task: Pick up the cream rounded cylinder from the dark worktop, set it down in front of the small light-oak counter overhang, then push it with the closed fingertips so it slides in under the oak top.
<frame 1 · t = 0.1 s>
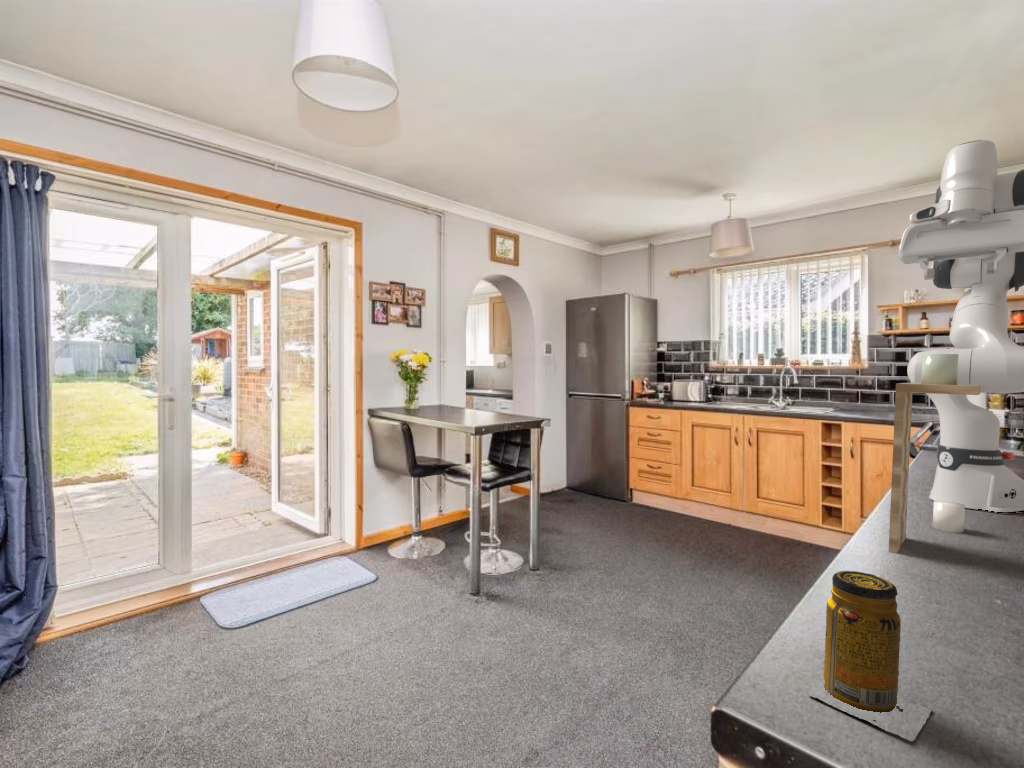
hand: (959, 275, 101), 52 cm above the counter, tool tilted 20°, fingers open, 8 cm apart
pale green cylinder: (938, 384, 92), point 30 cm above the counter, touching oak counter shelf
cream rounded cylinder: (947, 529, 107), on the counter
oak counter shelf: (930, 551, 93), on the counter
condiment: (868, 706, 50), on the counter
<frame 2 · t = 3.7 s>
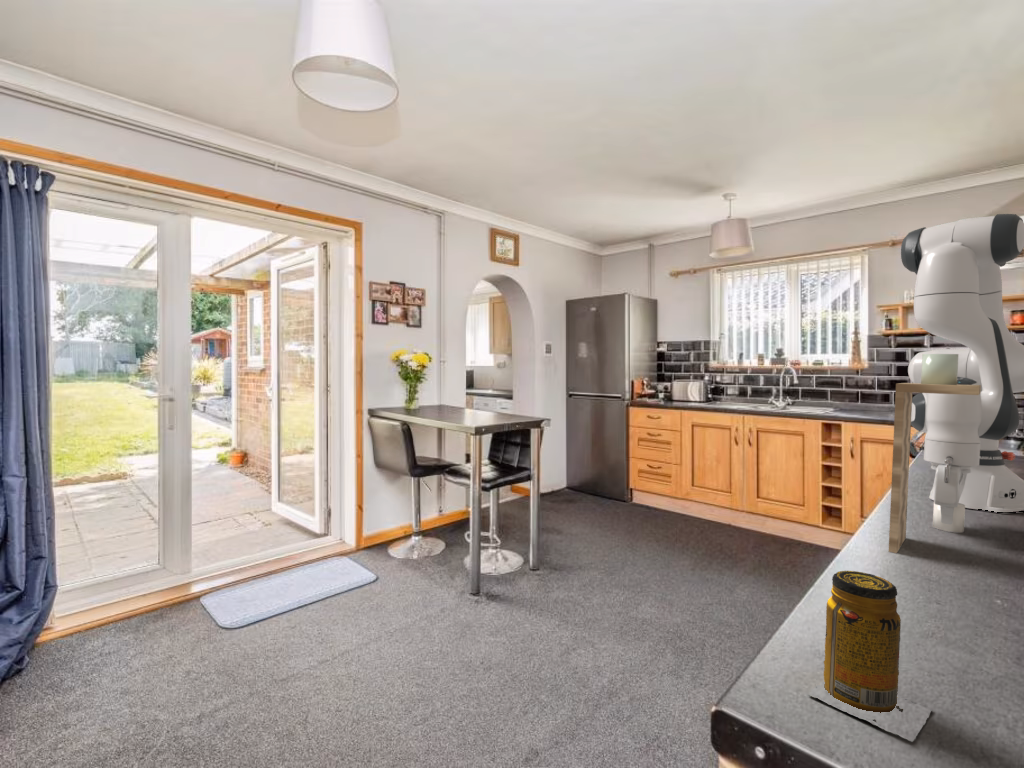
hand: (947, 520, 107), 2 cm above the counter, tool pointing down, fingers closed on cream rounded cylinder, 5 cm apart
cream rounded cylinder: (948, 528, 107), on the counter, touching gripper
everything else where it was.
when the fingers open (3 cm above the counter, at t = 8.4 s): cream rounded cylinder drops 1 cm, on the counter.
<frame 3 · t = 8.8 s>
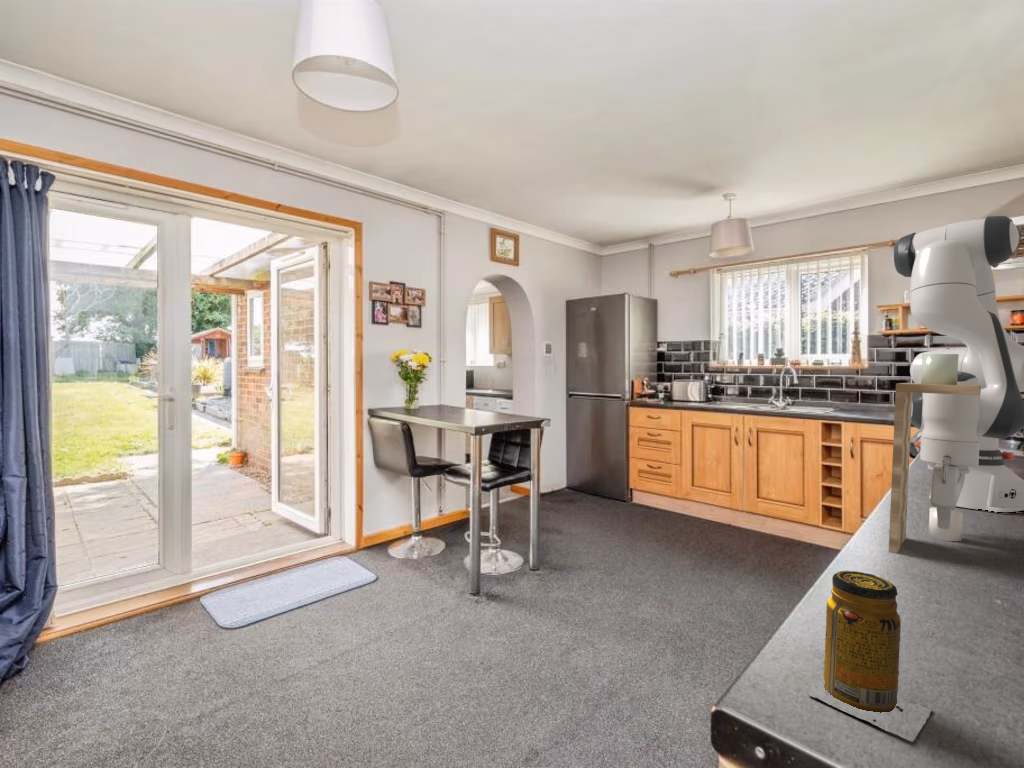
hand: (945, 522, 102), 3 cm above the counter, tool pointing down, fingers open, 8 cm apart
cream rounded cylinder: (944, 537, 102), on the counter
everything else where it was.
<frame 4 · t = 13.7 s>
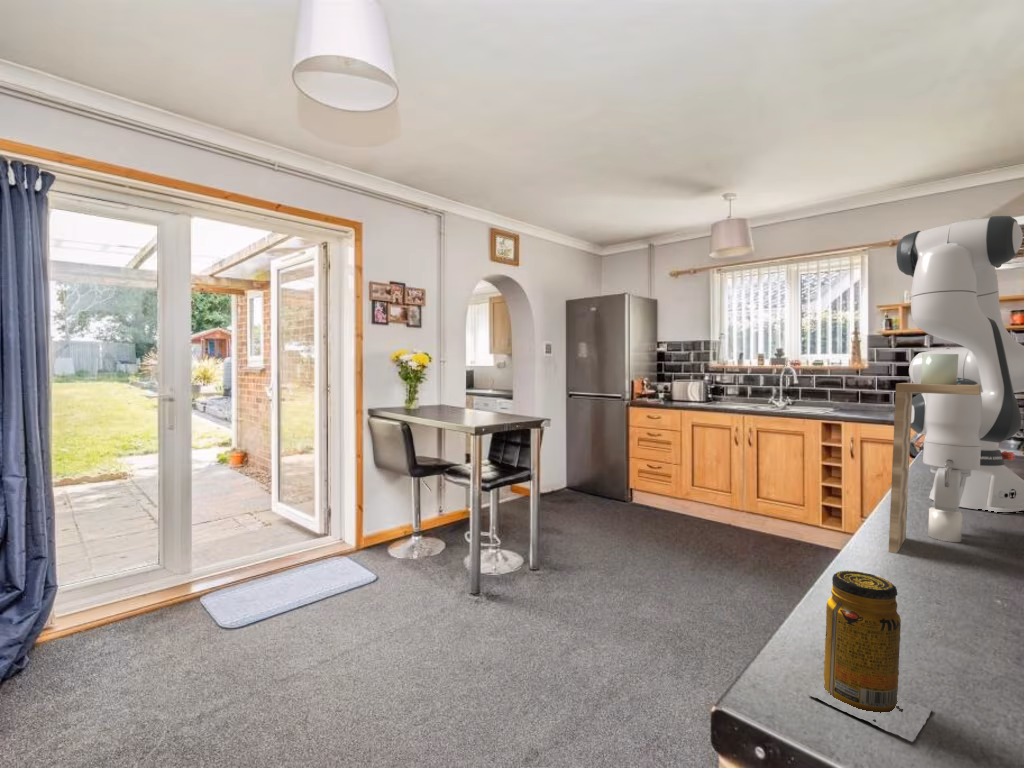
hand: (947, 524, 105), 2 cm above the counter, tool pointing down, fingers closed
cream rounded cylinder: (944, 537, 101), on the counter, touching gripper
everything else where it was.
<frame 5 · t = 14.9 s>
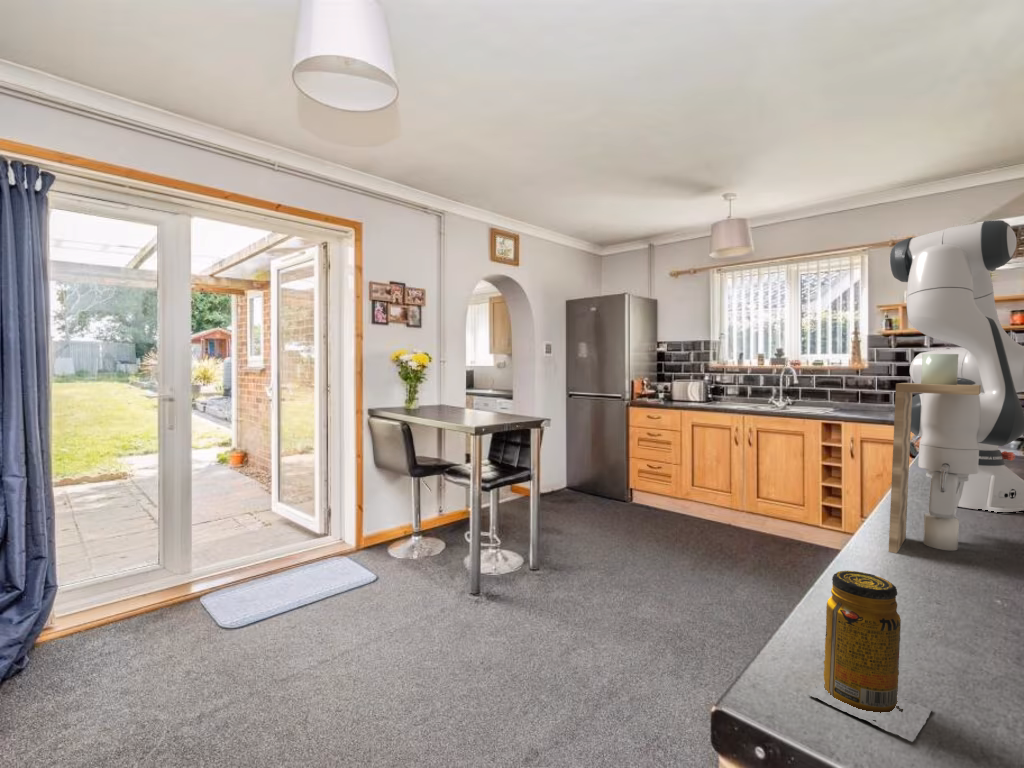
hand: (944, 531, 100), 2 cm above the counter, tool pointing down, fingers closed
cream rounded cylinder: (940, 545, 97), on the counter, touching gripper
everything else where it was.
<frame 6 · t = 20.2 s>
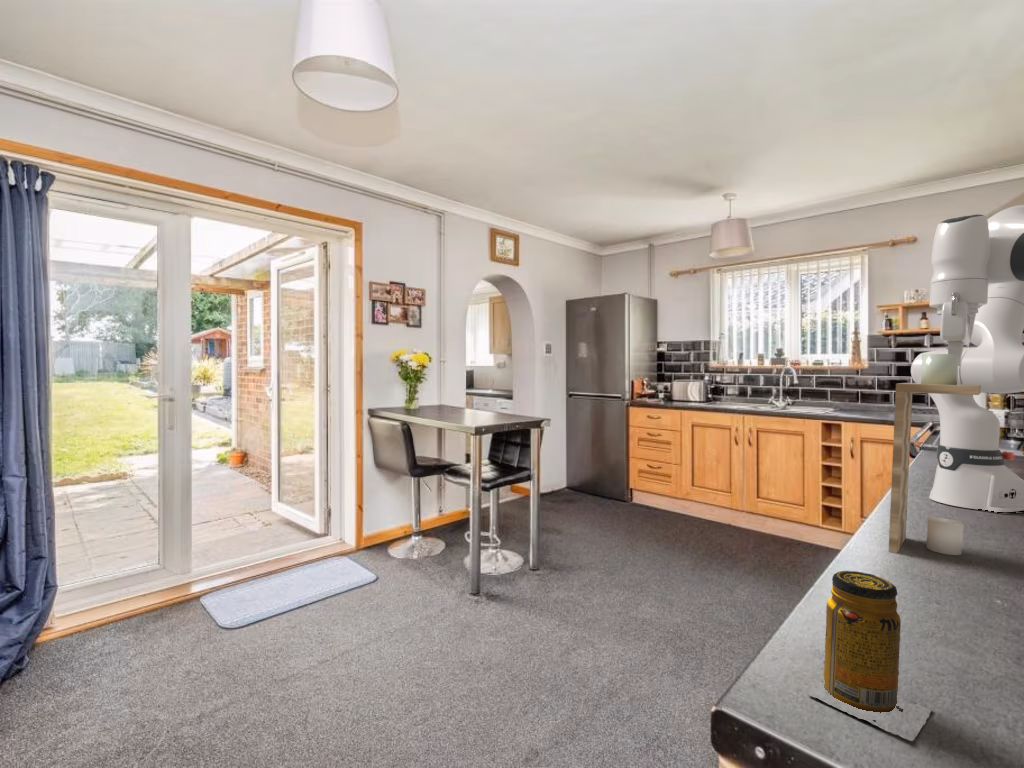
hand: (954, 365, 103), 34 cm above the counter, tool pointing down, fingers closed
cream rounded cylinder: (943, 550, 94), on the counter
everything else where it was.
at the end: cream rounded cylinder 3.0 cm from the oak counter shelf (horizontally); cream rounded cylinder tilted 1°; cream rounded cylinder on the counter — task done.
